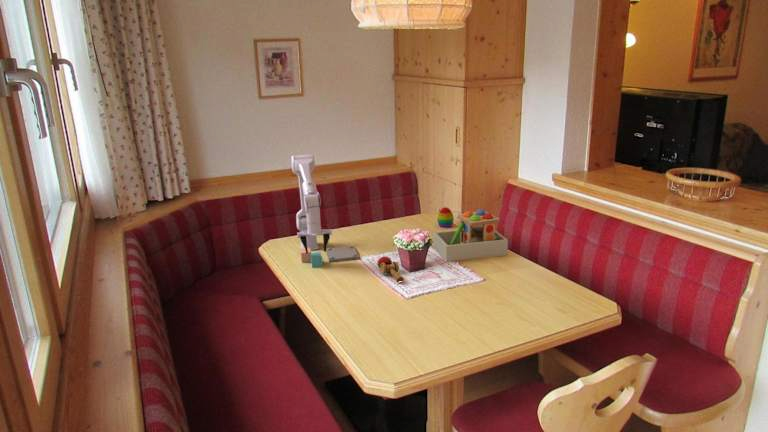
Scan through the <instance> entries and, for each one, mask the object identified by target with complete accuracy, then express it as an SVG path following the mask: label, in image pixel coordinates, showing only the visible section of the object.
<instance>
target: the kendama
mask: <svg viewBox="0 0 768 432" xmlns="http://www.w3.org/2000/svg"><path fill="white" fill-rule="evenodd" d="M377 268H378V269H379V272H380V274H382V275H384V274H386V273H387V272H390V274H391V276H392V277H393V278H394V280H395V282H396V283H397V282H399V281H403V282H404V279H405V278H404V277H403V276H402V275H401V274H399V270H400V265H399V262H398V261H393V262H392V259H391V258H390V257H388V256H381V257H380V258H379V259H378V260H377ZM397 272H398V273H397Z"/></svg>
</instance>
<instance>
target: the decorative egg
mask: <svg viewBox="0 0 768 432" xmlns="http://www.w3.org/2000/svg"><path fill="white" fill-rule="evenodd" d="M453 223H454V214H453V212H452V211H451V209H450V208H449V207H442V208H441V209H440V210H439V212H438V213H437V224H438V225H439V227H440V228H444V229H448V228H451V226H453Z"/></svg>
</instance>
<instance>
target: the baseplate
mask: <svg viewBox="0 0 768 432" xmlns="http://www.w3.org/2000/svg"><path fill="white" fill-rule="evenodd" d="M325 253H326V256H327V258H328V259H327V260H328V262H329V263H334V262H335V263H336V262H345V261H353V260H359V259H360V257H359V255H358V253H357V250H356V248H355V246H354V245H348V246H342V247H340V246H339V247H338V246H337V247H327V248H326V252H325Z"/></svg>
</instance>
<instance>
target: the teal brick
mask: <svg viewBox="0 0 768 432" xmlns="http://www.w3.org/2000/svg"><path fill="white" fill-rule="evenodd" d="M310 263H311V267H312V268H321V267H323V256H322V252H320V251H319V252H311V262H310Z"/></svg>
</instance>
